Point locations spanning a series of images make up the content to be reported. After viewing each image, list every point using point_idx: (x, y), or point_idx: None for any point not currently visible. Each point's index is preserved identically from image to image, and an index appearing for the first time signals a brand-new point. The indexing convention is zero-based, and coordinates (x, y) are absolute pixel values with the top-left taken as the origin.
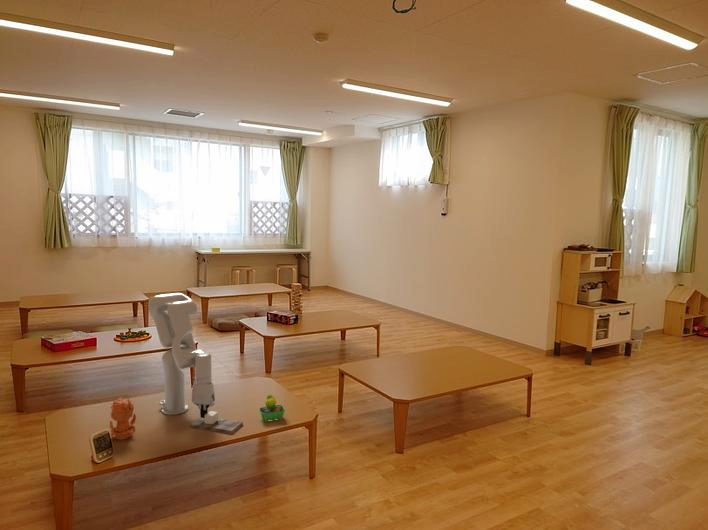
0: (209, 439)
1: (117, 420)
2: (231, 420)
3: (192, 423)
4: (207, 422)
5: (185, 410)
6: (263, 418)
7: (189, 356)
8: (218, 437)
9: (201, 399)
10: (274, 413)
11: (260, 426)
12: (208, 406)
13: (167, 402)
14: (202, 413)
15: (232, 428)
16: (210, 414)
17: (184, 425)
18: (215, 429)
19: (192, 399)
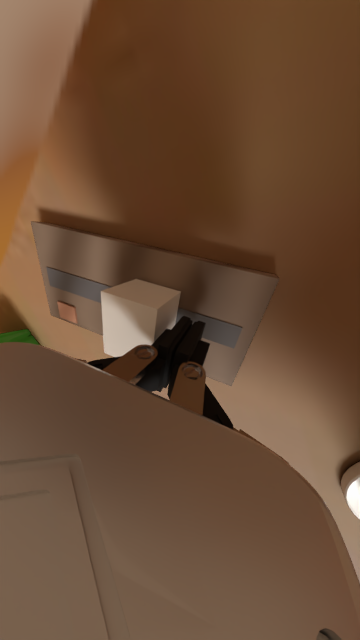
0: (96, 113)
1: None
2: (89, 328)
3: (263, 294)
4: (160, 288)
5: (355, 470)
6: (12, 332)
7: None
8: (71, 163)
9: (29, 469)
10: None
11: (17, 299)
12: (93, 362)
13: None
14: (181, 334)
15: (43, 248)
16: (124, 320)
17: (327, 303)
18: (110, 238)
19: (337, 599)
